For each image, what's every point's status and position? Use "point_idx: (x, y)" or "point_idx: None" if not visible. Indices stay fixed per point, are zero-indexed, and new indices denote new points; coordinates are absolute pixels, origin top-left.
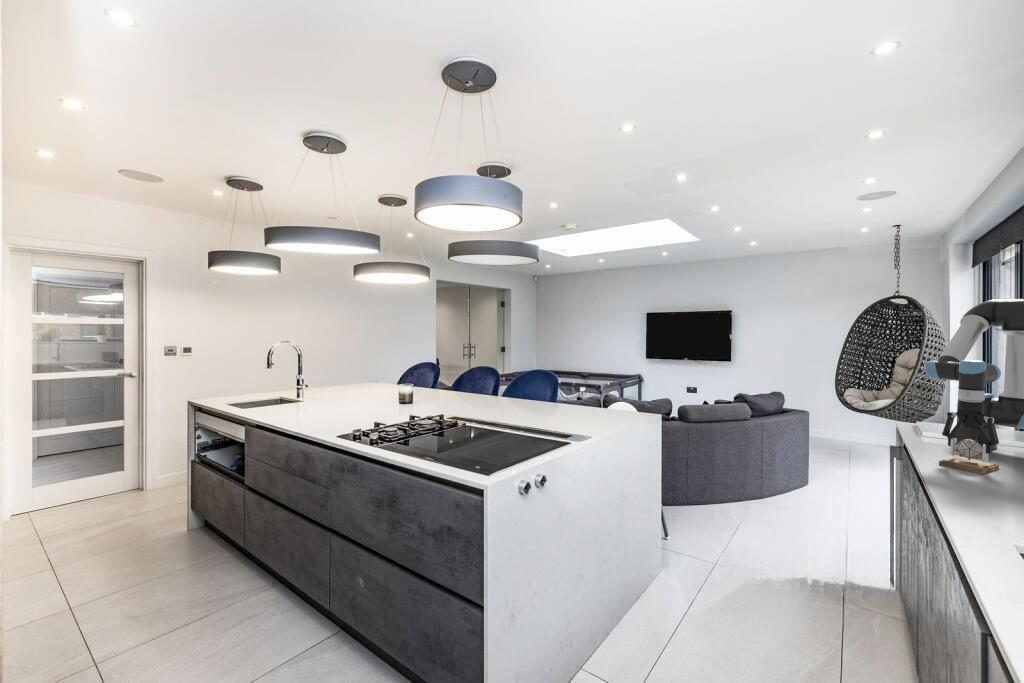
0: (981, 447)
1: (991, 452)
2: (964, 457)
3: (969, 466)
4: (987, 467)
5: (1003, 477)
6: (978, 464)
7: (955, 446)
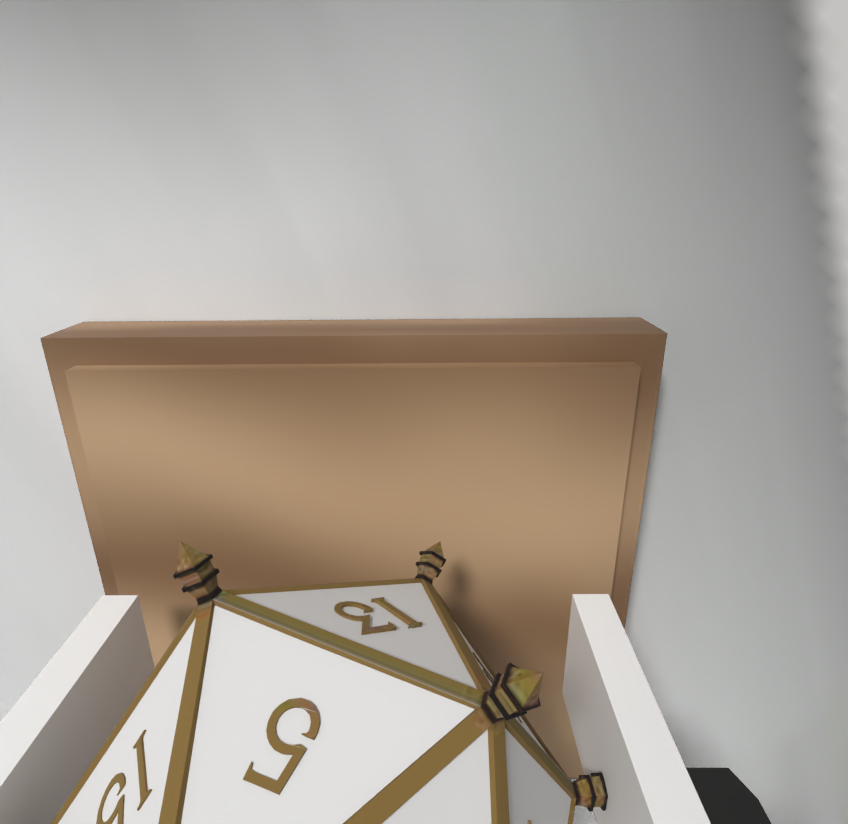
0: (509, 737)
1: (750, 799)
2: (178, 389)
3: None
4: None
5: (773, 659)
6: (501, 630)
7: (48, 780)
